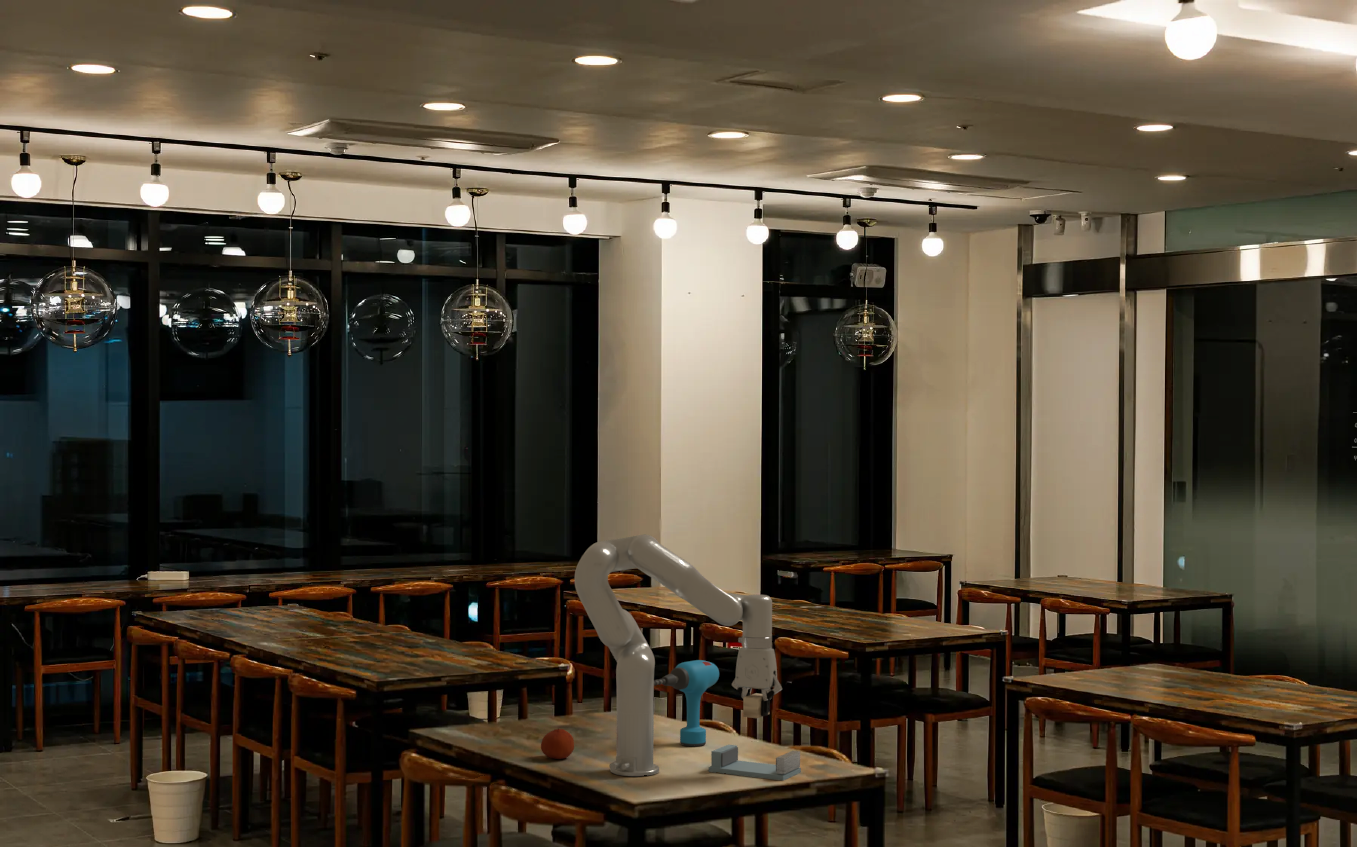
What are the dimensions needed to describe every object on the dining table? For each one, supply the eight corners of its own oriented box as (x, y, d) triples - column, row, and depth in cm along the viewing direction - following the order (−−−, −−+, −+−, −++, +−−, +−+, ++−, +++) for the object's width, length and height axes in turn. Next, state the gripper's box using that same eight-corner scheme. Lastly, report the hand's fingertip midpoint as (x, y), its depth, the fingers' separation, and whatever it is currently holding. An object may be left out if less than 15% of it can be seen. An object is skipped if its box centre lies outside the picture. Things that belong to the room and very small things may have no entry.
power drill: (660, 756, 427) (660, 670, 427) (636, 752, 432) (637, 666, 433) (726, 741, 448) (727, 659, 448) (703, 737, 454) (703, 655, 454)
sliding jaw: (784, 774, 400) (784, 758, 400) (775, 773, 401) (775, 757, 401) (800, 766, 408) (800, 751, 408) (791, 765, 410) (791, 750, 410)
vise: (783, 780, 399) (783, 759, 399) (708, 771, 409) (708, 751, 409) (800, 772, 409) (800, 751, 409) (727, 763, 419) (727, 743, 419)
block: (757, 718, 404) (757, 698, 404) (743, 716, 406) (743, 697, 406) (769, 713, 410) (769, 694, 410) (755, 712, 412) (755, 693, 412)
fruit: (554, 753, 430) (555, 724, 430) (580, 757, 425) (580, 727, 425) (533, 759, 423) (533, 728, 423) (559, 763, 418) (559, 732, 418)
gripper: (721, 642, 409) (720, 713, 409) (780, 647, 400) (779, 720, 400) (734, 639, 415) (734, 709, 415) (792, 643, 407) (792, 715, 407)
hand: (756, 713), depth 408 cm, fingers closed on block, 4 cm apart
